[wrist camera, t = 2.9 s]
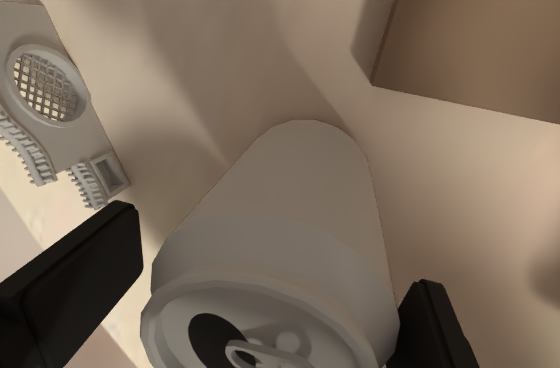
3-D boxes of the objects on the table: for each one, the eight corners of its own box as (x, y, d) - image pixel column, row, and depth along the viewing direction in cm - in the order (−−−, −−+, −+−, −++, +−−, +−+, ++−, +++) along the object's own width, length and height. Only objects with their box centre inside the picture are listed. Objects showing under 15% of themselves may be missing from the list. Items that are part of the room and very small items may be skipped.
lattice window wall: (136, 187, 21) (66, 235, 16) (116, 189, 21) (42, 237, 16) (46, -2, 16) (-96, -23, 11) (24, 7, 17) (-123, -9, 11)
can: (234, 125, 17) (55, 261, 6) (365, 104, 15) (412, 252, 5) (262, 229, 20) (170, 438, 10) (374, 223, 18) (415, 479, 8)
